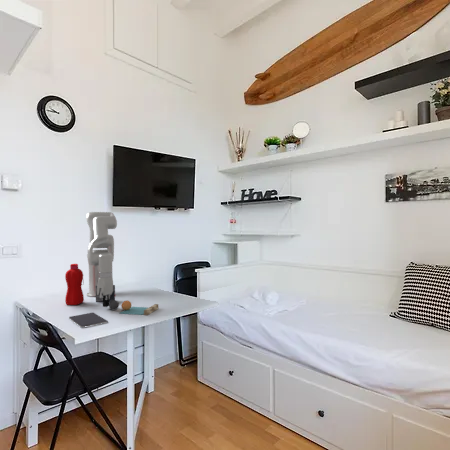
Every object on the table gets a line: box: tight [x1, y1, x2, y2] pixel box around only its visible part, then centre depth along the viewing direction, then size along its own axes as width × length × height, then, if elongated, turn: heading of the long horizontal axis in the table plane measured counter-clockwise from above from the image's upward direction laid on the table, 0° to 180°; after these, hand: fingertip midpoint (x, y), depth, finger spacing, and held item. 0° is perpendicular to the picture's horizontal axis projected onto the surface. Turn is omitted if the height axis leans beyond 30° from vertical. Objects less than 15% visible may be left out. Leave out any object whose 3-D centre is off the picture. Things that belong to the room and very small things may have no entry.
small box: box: [95, 284, 116, 304], centre depth 206 cm, size 11×6×10 cm, turn 74°
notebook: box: [68, 311, 109, 328], centre depth 166 cm, size 13×2×21 cm
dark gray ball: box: [108, 299, 120, 311], centre depth 186 cm, size 6×6×6 cm
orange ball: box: [121, 300, 132, 311], centre depth 185 cm, size 6×6×6 cm
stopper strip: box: [143, 303, 159, 316], centre depth 181 cm, size 14×2×2 cm, turn 167°
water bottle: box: [64, 263, 85, 306], centre depth 201 cm, size 9×11×25 cm
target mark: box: [119, 306, 149, 316], centre depth 183 cm, size 14×14×1 cm
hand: (106, 306), depth 188 cm, fingers closed
